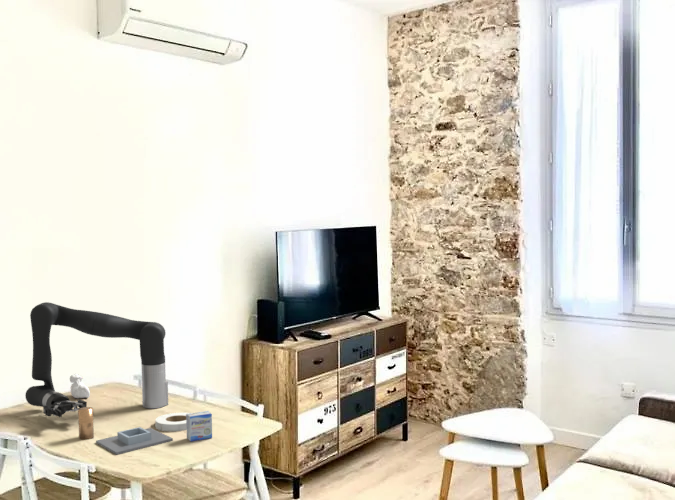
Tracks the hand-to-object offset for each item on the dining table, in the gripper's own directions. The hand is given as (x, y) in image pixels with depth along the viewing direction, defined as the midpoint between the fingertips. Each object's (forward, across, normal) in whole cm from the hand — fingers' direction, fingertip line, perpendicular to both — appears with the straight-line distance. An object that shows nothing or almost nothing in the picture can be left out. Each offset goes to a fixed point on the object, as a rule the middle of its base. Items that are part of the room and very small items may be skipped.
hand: (72, 411), depth 250 cm
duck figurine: (-42, +19, +7) cm, 47 cm away
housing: (+28, +10, +6) cm, 30 cm away
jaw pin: (+12, 0, +7) cm, 13 cm away
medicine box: (+40, +28, +7) cm, 49 cm away
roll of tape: (+21, +30, +7) cm, 37 cm away
